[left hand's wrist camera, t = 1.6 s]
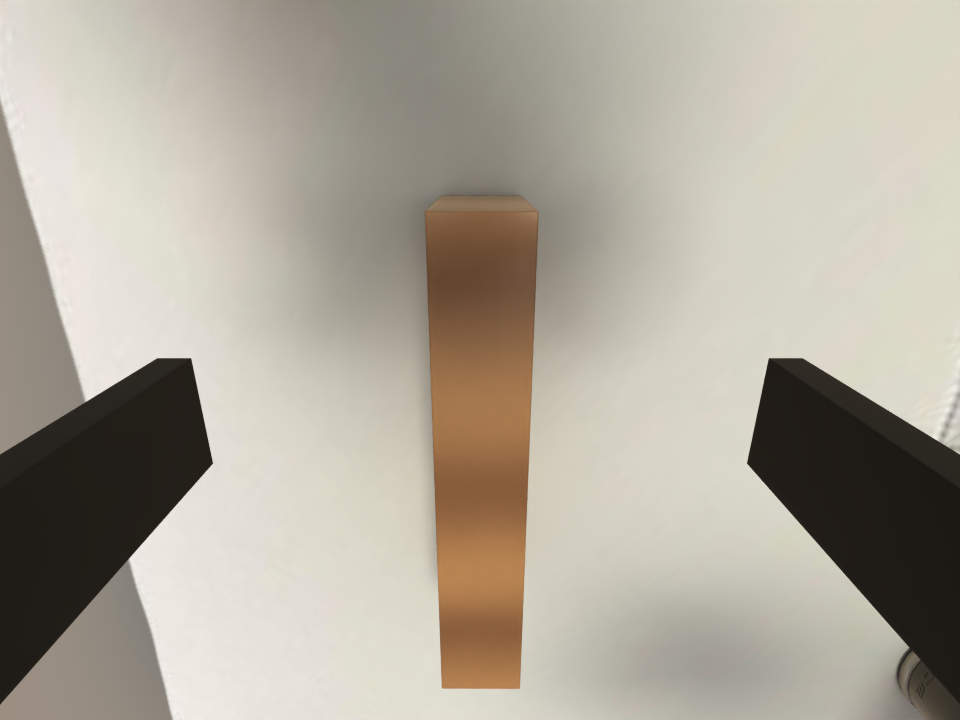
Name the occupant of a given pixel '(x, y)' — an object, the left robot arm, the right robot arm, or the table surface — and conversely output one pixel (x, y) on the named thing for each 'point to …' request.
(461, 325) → the bar
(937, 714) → the right robot arm
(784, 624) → the table surface
